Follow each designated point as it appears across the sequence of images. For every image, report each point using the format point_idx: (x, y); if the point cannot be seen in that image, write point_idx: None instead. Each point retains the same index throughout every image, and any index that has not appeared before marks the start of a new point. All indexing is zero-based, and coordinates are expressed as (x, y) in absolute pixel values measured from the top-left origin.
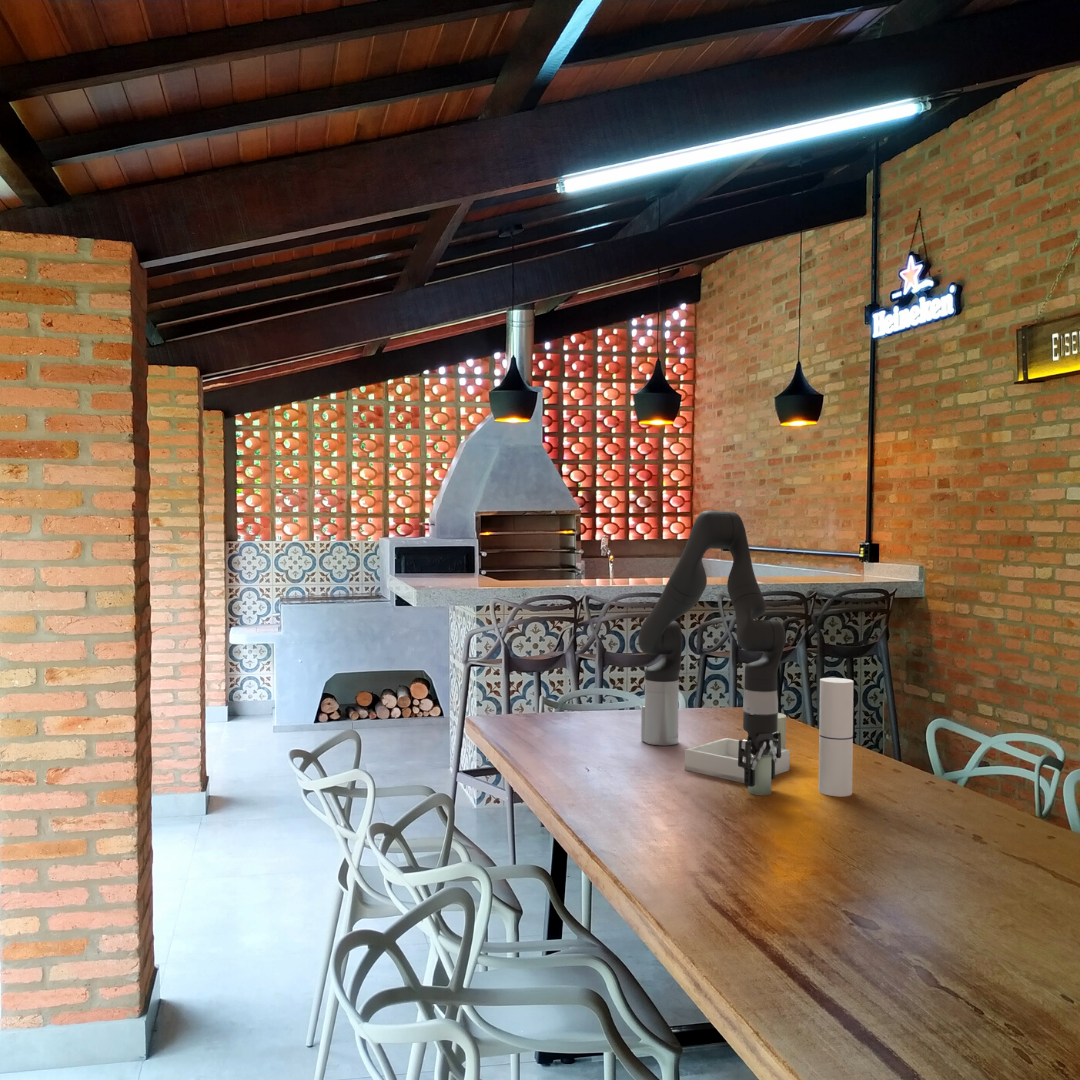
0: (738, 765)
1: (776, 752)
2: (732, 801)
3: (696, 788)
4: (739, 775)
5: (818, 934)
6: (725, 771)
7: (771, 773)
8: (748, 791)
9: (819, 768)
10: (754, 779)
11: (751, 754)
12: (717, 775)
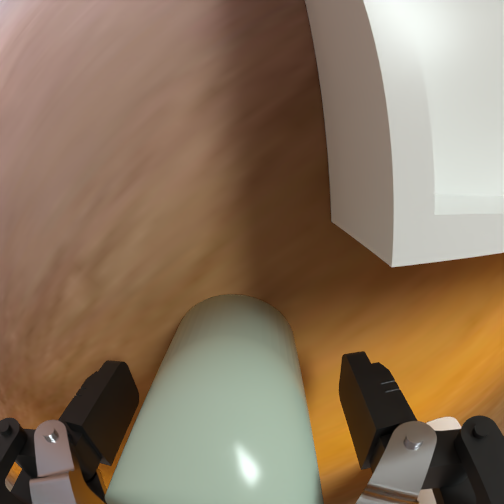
0: (2, 423)
1: (461, 479)
2: (45, 336)
3: (43, 105)
4: (339, 141)
5: (8, 479)
6: (324, 29)
7: (347, 409)
8: (184, 316)
9: (423, 497)
10: (125, 424)
11: (191, 501)
12: (307, 1)
